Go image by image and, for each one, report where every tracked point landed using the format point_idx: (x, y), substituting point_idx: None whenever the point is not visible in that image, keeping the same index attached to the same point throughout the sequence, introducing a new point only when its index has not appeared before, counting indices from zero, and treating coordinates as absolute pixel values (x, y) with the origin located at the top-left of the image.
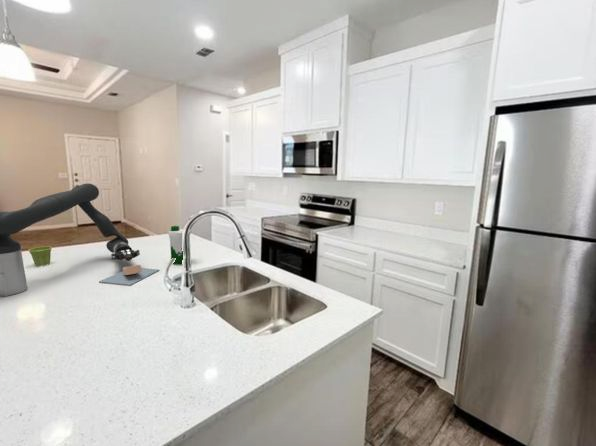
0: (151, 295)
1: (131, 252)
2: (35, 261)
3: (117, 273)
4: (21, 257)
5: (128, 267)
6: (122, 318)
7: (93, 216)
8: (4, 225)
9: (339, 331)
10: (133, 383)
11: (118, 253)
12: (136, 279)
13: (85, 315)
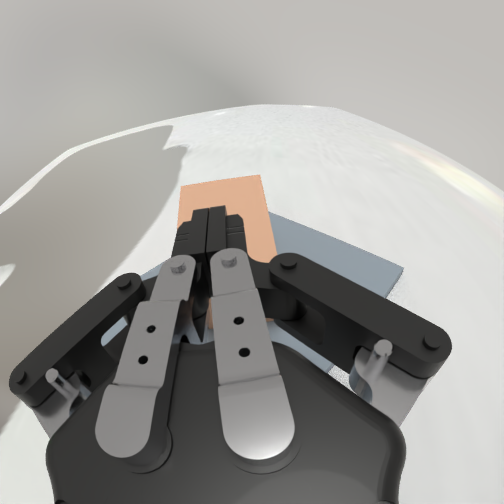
0: (215, 169)
1: (114, 369)
2: None
3: (327, 361)
4: None
5: (246, 179)
6: (280, 138)
7: None
8: None
9: (116, 133)
10: (270, 111)
11: (340, 386)
12: None
13: (345, 148)
